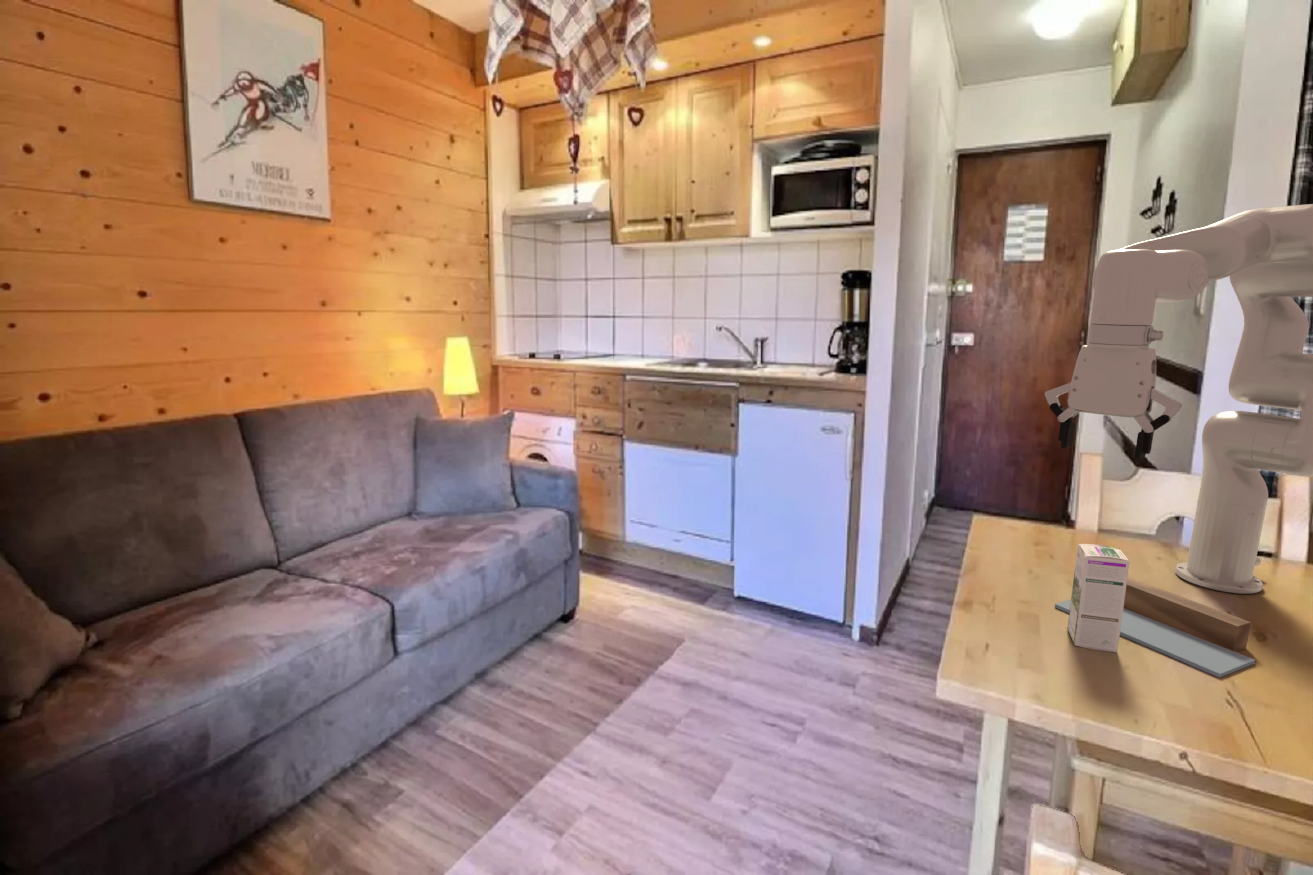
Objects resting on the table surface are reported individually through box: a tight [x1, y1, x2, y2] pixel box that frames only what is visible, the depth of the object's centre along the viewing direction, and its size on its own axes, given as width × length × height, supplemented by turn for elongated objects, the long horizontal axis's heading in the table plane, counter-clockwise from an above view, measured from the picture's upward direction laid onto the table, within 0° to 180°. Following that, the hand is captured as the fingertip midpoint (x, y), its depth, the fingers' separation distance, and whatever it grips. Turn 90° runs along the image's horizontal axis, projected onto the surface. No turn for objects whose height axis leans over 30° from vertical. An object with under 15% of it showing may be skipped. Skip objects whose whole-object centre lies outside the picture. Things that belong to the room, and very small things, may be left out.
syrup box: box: [1067, 543, 1130, 653], centre depth 103 cm, size 6×6×14 cm
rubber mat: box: [1054, 599, 1256, 679], centre depth 107 cm, size 9×24×1 cm, turn 25°
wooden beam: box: [1124, 576, 1252, 653], centre depth 111 cm, size 3×22×4 cm, turn 23°
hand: (1101, 452), depth 103 cm, fingers open, 9 cm apart
